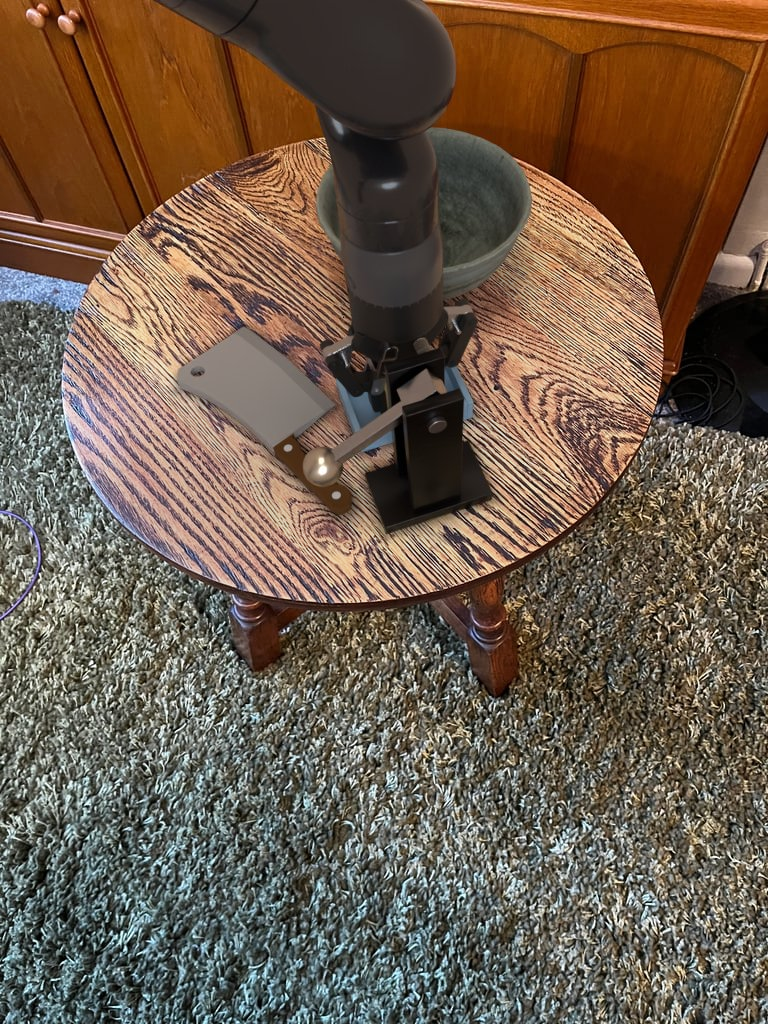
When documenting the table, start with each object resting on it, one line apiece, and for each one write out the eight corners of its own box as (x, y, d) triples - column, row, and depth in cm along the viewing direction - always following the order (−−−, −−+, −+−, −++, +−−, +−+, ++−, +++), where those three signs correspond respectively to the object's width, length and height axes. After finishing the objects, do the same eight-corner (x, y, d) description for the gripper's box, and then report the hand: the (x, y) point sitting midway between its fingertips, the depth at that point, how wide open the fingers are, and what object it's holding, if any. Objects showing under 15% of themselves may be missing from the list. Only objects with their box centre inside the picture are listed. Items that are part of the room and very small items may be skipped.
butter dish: (360, 453, 72) (357, 438, 70) (338, 394, 75) (335, 378, 73) (472, 417, 73) (473, 401, 71) (446, 361, 76) (446, 344, 74)
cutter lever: (325, 498, 62) (300, 488, 59) (314, 467, 63) (290, 455, 61) (457, 409, 57) (436, 393, 55) (442, 377, 59) (421, 360, 56)
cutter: (385, 534, 68) (370, 434, 54) (365, 479, 70) (345, 370, 56) (492, 499, 68) (504, 392, 55) (468, 446, 71) (473, 331, 57)
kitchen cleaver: (405, 462, 70) (320, 527, 67) (405, 468, 71) (321, 532, 68) (247, 319, 80) (166, 370, 77) (249, 327, 81) (169, 377, 77)
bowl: (289, 291, 82) (270, 215, 73) (404, 178, 89) (399, 96, 80) (450, 377, 75) (451, 305, 66) (561, 247, 82) (575, 166, 73)
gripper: (463, 208, 61) (460, 351, 76) (290, 258, 59) (322, 393, 74) (500, 274, 57) (488, 409, 72) (317, 328, 56) (344, 455, 71)
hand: (404, 400), depth 73 cm, fingers closed on butter pat, 4 cm apart
